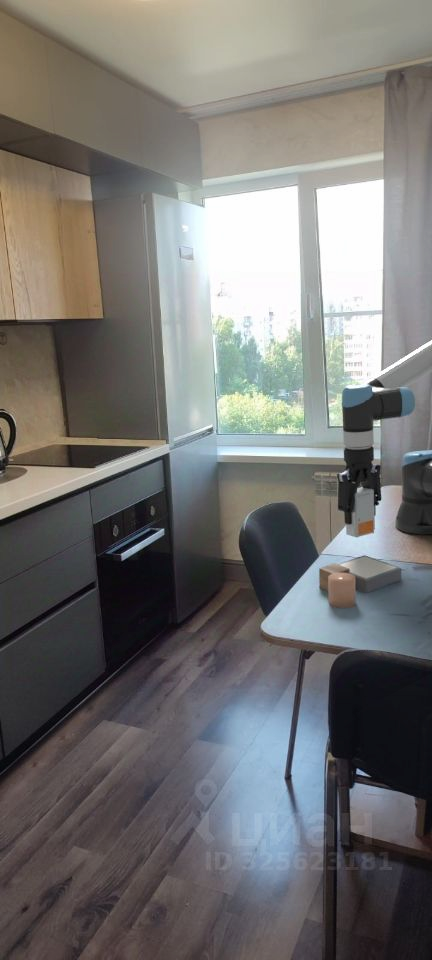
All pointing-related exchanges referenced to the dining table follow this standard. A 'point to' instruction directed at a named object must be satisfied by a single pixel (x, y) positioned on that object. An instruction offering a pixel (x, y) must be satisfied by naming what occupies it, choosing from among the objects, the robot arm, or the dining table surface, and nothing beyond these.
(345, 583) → the peach rounded capsule
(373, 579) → the podium
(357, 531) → the skincare box
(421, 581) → the dining table surface
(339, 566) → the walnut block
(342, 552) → the dining table surface
